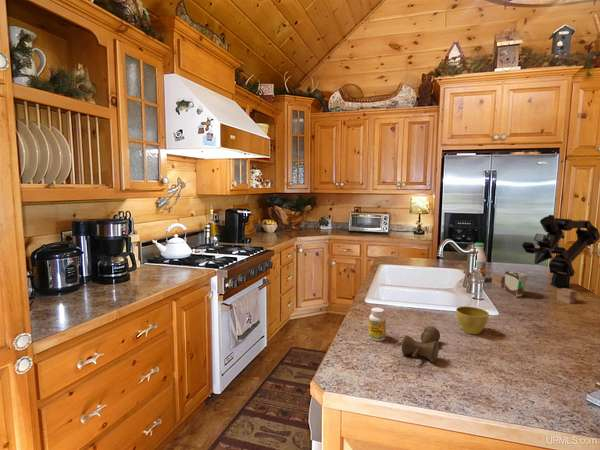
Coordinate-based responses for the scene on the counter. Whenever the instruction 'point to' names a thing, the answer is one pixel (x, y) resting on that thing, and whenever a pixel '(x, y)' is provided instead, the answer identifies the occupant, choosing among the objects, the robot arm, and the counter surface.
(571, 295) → the walnut cube seven
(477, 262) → the milk bottle
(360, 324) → the counter surface
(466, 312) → the olive yellow bowl
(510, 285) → the food container
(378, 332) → the supplement bottle
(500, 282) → the walnut cube one
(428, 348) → the kendama
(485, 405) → the counter surface
